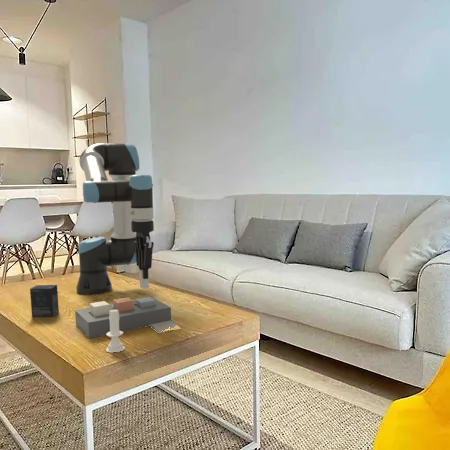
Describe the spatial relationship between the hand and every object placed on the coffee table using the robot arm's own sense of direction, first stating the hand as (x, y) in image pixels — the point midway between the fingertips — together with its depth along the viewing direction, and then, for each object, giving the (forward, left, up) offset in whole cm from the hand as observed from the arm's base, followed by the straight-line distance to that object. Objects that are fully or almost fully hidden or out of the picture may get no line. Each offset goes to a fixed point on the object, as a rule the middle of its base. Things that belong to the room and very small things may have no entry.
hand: (144, 287), depth 153 cm
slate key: (+1, 0, -8) cm, 8 cm away
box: (-26, -28, -11) cm, 40 cm away
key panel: (0, -8, -11) cm, 14 cm away
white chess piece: (+22, -18, -11) cm, 31 cm away
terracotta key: (0, -8, -7) cm, 11 cm away
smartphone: (+10, +2, -12) cm, 16 cm away
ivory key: (0, -16, -7) cm, 18 cm away
